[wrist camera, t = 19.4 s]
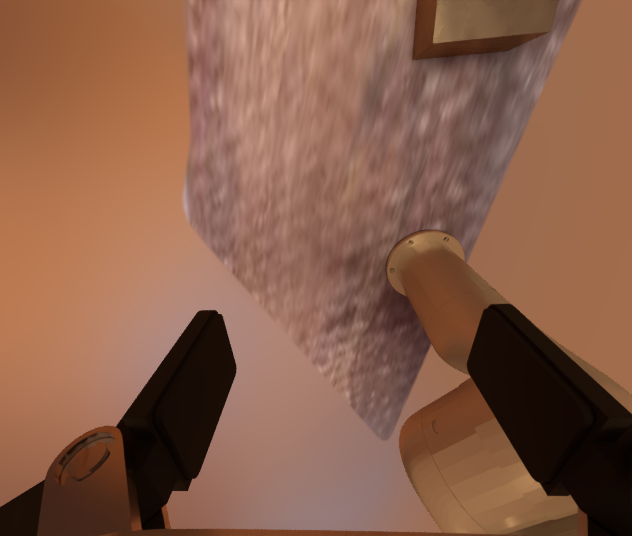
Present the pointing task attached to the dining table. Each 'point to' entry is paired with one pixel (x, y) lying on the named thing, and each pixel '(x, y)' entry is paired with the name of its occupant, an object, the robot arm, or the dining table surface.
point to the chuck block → (478, 25)
